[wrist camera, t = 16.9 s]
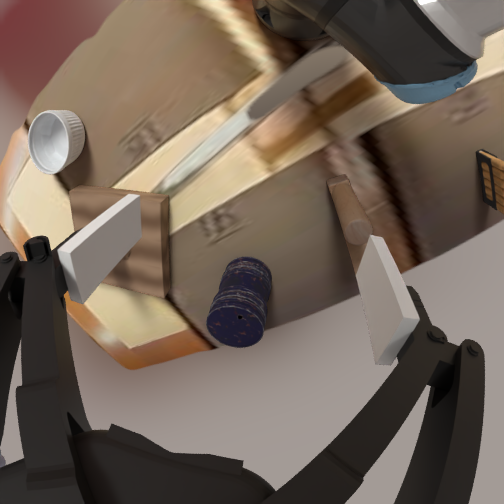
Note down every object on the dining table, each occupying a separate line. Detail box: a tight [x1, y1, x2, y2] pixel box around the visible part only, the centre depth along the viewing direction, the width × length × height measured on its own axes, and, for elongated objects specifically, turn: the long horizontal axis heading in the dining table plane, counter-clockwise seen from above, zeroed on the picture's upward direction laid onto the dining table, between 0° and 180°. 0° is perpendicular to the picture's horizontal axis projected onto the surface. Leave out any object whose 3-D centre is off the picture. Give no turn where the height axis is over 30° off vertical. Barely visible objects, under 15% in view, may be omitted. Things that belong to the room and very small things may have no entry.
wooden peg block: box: [327, 174, 373, 275], centre depth 42 cm, size 4×11×18 cm, turn 24°
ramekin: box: [28, 110, 85, 174], centre depth 46 cm, size 13×13×7 cm
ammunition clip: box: [476, 149, 504, 214], centre depth 36 cm, size 11×2×12 cm, turn 26°
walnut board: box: [69, 185, 171, 298], centre depth 58 cm, size 22×22×4 cm
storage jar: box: [206, 257, 272, 348], centre depth 54 cm, size 10×10×15 cm
